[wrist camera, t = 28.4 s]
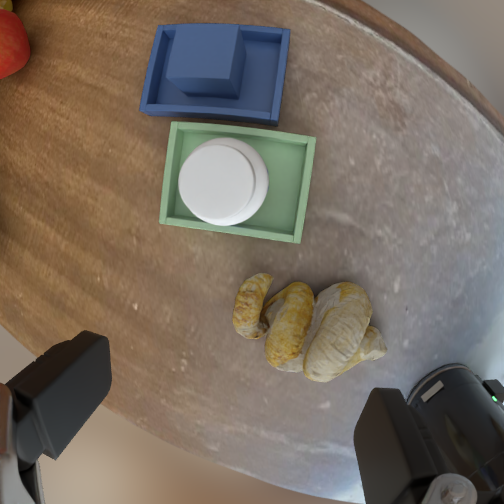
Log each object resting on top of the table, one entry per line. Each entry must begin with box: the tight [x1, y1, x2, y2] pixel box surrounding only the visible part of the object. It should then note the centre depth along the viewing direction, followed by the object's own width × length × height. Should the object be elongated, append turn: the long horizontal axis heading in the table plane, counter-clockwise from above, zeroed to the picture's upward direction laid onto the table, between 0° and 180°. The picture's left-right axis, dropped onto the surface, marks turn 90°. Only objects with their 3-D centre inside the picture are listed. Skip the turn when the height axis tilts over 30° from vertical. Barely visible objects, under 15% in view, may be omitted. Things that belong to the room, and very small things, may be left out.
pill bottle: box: [178, 137, 269, 226], centre depth 20 cm, size 5×5×10 cm
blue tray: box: [139, 24, 290, 126], centre depth 23 cm, size 11×8×2 cm
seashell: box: [232, 273, 387, 382], centre depth 25 cm, size 10×6×15 cm
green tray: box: [159, 121, 316, 244], centre depth 24 cm, size 11×8×2 cm
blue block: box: [166, 23, 246, 99], centre depth 21 cm, size 4×4×6 cm
